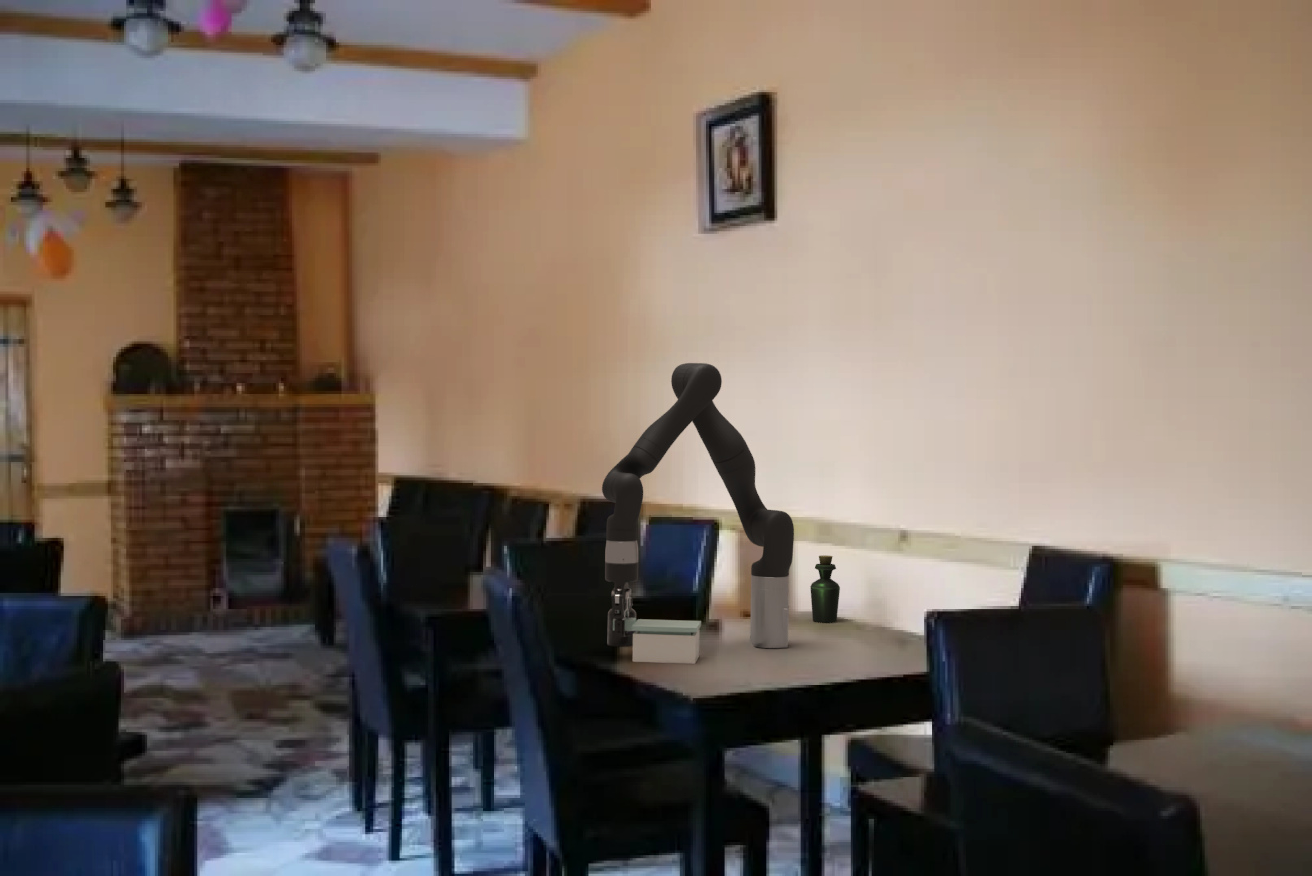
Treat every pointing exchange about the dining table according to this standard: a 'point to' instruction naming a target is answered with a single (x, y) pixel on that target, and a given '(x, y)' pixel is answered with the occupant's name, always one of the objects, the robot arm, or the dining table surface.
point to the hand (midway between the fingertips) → (621, 635)
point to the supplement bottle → (611, 638)
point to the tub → (666, 648)
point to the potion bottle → (825, 592)
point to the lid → (661, 626)
